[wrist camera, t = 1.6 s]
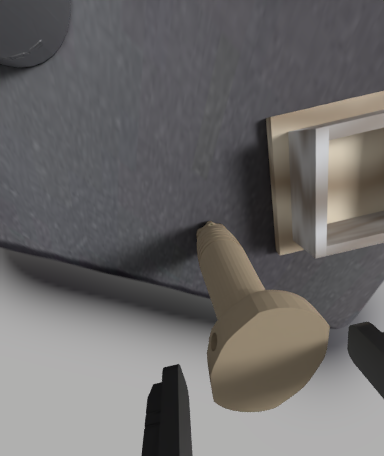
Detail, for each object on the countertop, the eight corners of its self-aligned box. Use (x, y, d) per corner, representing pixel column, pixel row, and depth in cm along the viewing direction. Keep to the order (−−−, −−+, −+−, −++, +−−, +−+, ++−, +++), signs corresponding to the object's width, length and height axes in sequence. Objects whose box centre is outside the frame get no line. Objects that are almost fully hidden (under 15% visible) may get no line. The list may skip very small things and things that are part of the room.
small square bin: (265, 118, 20) (294, 110, 15) (414, 83, 20) (489, 65, 15) (276, 251, 25) (300, 275, 20) (394, 223, 25) (444, 241, 20)
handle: (241, 212, 23) (352, 319, 9) (221, 263, 25) (284, 415, 11) (198, 200, 22) (246, 297, 8) (180, 254, 24) (194, 407, 10)
